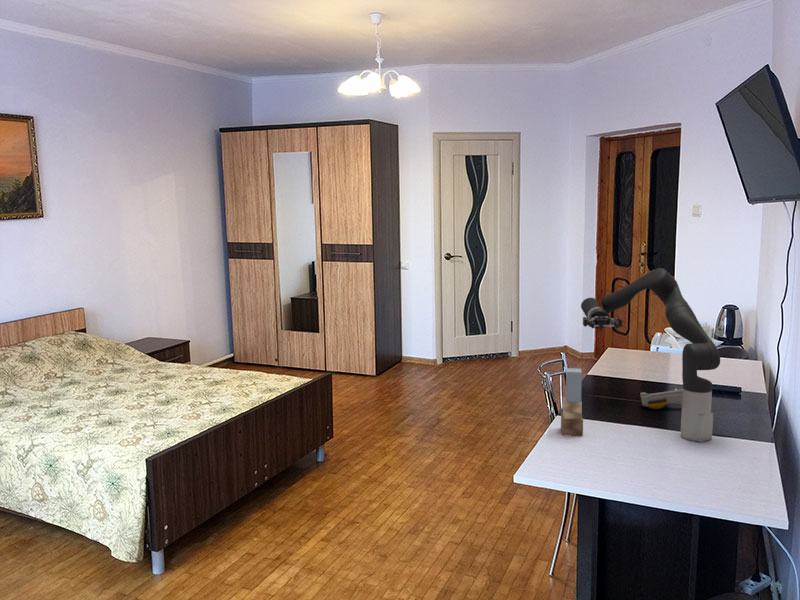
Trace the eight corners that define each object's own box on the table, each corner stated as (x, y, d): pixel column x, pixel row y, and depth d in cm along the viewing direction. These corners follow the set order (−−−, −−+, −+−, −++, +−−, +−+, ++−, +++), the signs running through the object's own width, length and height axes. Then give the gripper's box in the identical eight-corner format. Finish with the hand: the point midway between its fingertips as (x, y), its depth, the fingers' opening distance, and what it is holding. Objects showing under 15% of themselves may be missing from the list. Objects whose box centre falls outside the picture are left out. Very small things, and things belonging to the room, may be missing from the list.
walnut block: (580, 429, 239) (581, 413, 238) (582, 436, 232) (583, 420, 231) (560, 428, 240) (561, 412, 239) (562, 435, 233) (562, 419, 232)
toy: (714, 412, 253) (710, 385, 252) (646, 421, 258) (641, 395, 257) (710, 407, 259) (706, 381, 257) (644, 416, 264) (639, 391, 263)
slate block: (580, 398, 236) (580, 368, 234) (581, 402, 231) (581, 372, 230) (565, 397, 237) (566, 368, 235) (566, 402, 232) (567, 372, 231)
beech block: (579, 413, 238) (580, 397, 237) (581, 419, 232) (581, 403, 231) (562, 413, 239) (563, 397, 238) (563, 418, 233) (564, 402, 232)
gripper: (580, 308, 263) (585, 315, 247) (617, 308, 261) (625, 316, 245) (579, 326, 264) (585, 335, 248) (616, 326, 262) (624, 335, 246)
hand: (605, 325), depth 247 cm, fingers open, 8 cm apart
